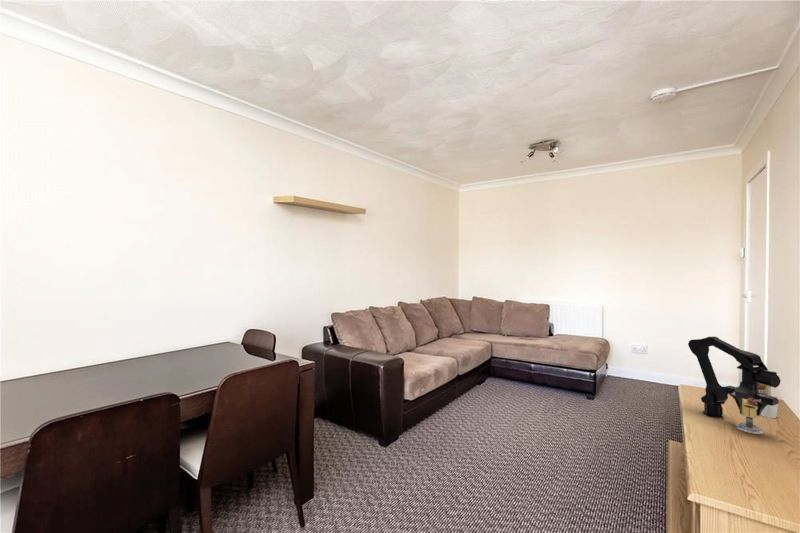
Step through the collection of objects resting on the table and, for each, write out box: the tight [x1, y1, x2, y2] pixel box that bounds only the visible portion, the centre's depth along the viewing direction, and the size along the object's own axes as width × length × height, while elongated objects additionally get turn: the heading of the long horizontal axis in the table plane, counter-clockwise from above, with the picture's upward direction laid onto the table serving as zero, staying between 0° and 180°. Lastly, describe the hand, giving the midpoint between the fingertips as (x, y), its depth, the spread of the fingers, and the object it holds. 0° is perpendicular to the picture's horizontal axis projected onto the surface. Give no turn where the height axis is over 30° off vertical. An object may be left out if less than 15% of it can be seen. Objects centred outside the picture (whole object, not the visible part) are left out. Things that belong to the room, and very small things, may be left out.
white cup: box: [760, 404, 779, 419], centre depth 191 cm, size 7×7×7 cm
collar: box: [739, 403, 760, 419], centre depth 175 cm, size 6×6×4 cm
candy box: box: [746, 384, 772, 407], centre depth 202 cm, size 9×4×15 cm, turn 28°
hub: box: [734, 416, 765, 435], centre depth 175 cm, size 10×10×6 cm
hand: (749, 412), depth 175 cm, fingers closed on collar, 6 cm apart
